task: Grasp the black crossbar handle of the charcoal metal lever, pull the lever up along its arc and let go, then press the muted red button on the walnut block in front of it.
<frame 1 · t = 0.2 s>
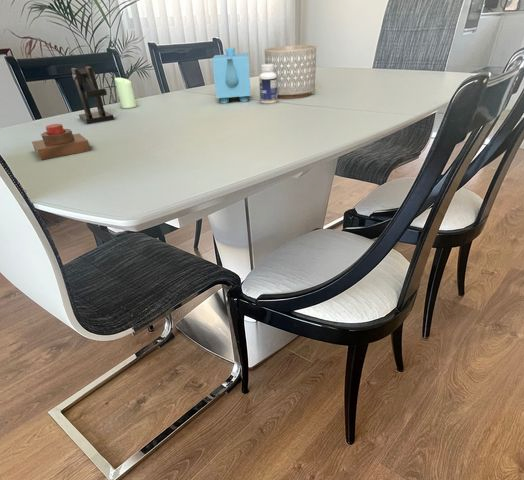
pill bottle: (268, 103, 123), on the table
button: (55, 129, 88), point 4 cm above the table, slide at 0.1 cm
planter: (290, 95, 131), on the table
lever: (89, 83, 109), point 9 cm above the table, hinge at -20.0°
bracket: (96, 119, 118), on the table
blue teardrop bottle box: (234, 101, 129), on the table
candle: (129, 107, 131), on the table
button block: (63, 151, 91), on the table
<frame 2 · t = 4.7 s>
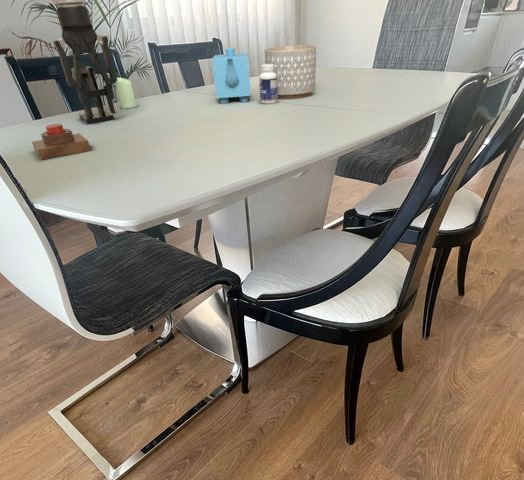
hand: (102, 114, 110), 2 cm above the table, tool pointing down, fingers closed on lever, 5 cm apart
lever: (89, 83, 109), point 9 cm above the table, hinge at -20.0°, touching gripper
everything else where it was.
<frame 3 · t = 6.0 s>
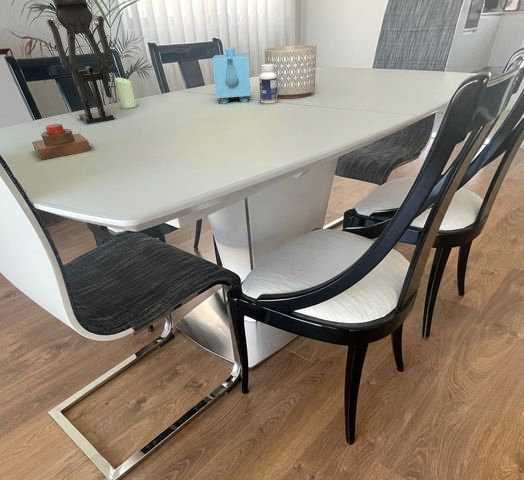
hand: (97, 98, 107), 6 cm above the table, tool pointing down, fingers closed on lever, 5 cm apart
lever: (87, 76, 107), point 11 cm above the table, hinge at 1.4°, touching gripper
everything else where it was.
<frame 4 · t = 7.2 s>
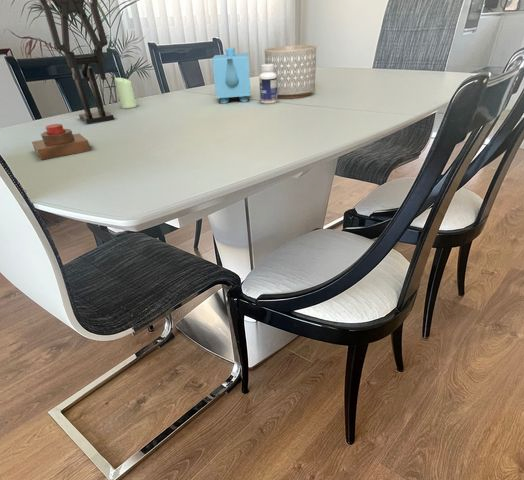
hand: (92, 80, 105), 10 cm above the table, tool pointing down, fingers open, 6 cm apart
lever: (84, 68, 106), point 13 cm above the table, hinge at 23.0°
everything else where it was.
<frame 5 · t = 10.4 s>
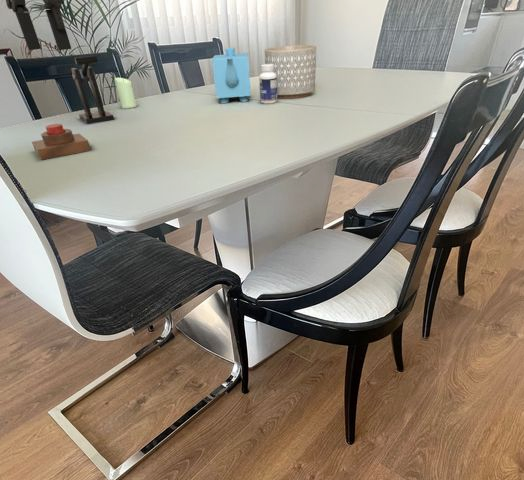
hand: (49, 49, 86), 18 cm above the table, tool pointing down, fingers open, 13 cm apart
nothing on the table moved.
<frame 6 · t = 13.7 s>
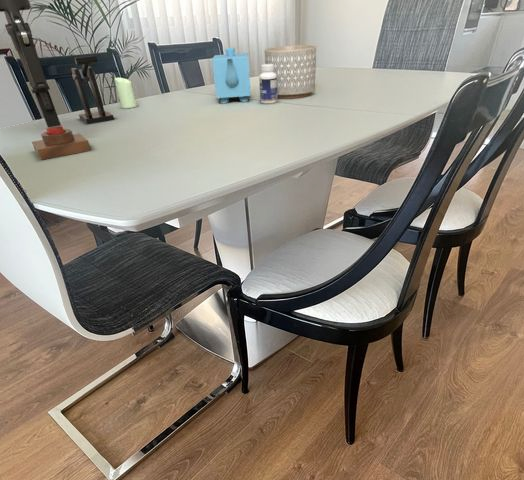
hand: (54, 125, 87), 5 cm above the table, tool pointing down, fingers closed
button: (55, 131, 88), point 4 cm above the table, slide at -0.2 cm, touching gripper
everything else where it was.
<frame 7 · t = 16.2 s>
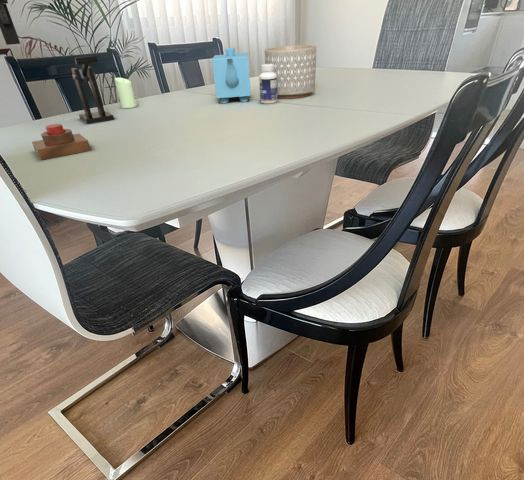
hand: (13, 43, 84), 20 cm above the table, tool pointing down, fingers closed
button: (55, 129, 88), point 4 cm above the table, slide at 0.1 cm
everything else where it was.
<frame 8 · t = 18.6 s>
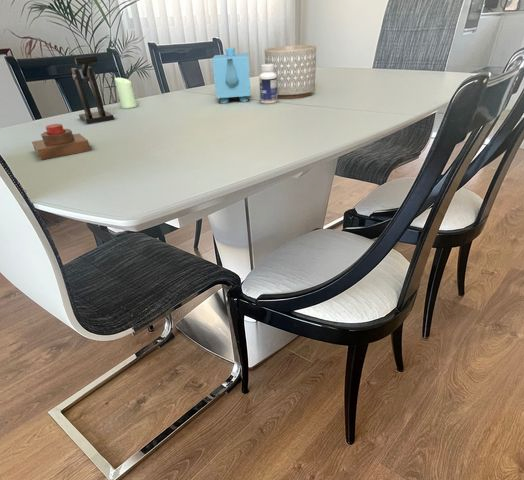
nothing on the table moved.
at the end: lever at +23° (first picture: -20°); button pushed in 1.0 cm at the most during the clip, back to where it started at the end; button slide at 0.1 cm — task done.
